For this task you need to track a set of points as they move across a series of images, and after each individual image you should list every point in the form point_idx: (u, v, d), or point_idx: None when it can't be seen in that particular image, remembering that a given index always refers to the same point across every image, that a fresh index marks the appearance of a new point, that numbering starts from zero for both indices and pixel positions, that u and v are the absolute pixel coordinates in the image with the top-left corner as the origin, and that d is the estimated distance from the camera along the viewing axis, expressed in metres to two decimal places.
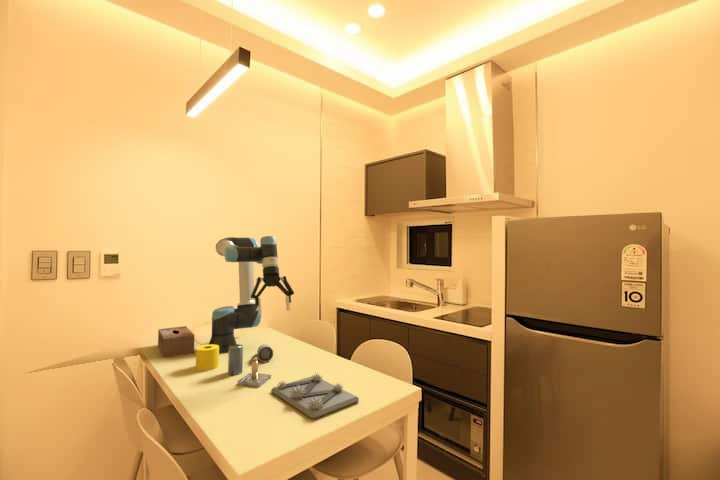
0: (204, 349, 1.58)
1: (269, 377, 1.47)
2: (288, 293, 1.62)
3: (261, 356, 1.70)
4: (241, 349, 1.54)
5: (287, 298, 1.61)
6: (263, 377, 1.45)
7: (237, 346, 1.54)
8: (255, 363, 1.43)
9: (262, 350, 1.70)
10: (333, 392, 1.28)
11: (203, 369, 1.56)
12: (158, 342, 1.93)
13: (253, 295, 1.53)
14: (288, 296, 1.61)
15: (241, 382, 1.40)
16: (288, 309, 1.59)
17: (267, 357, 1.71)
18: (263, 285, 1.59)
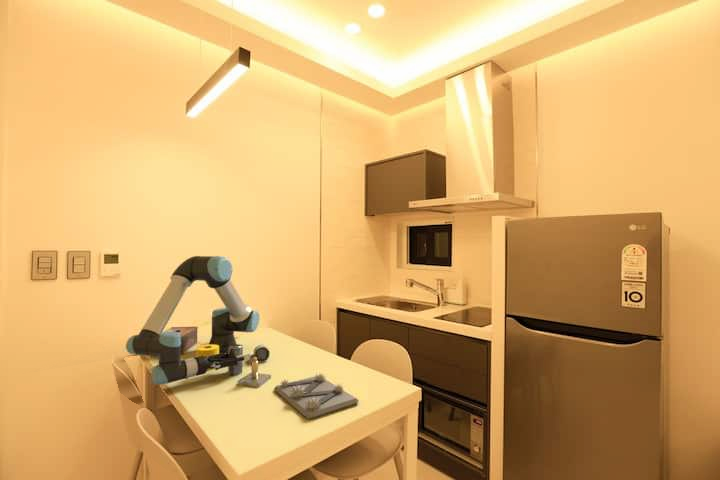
0: (204, 349, 1.58)
1: (269, 377, 1.47)
2: None
3: (257, 356, 1.70)
4: (241, 349, 1.54)
5: None
6: (263, 377, 1.45)
7: (237, 346, 1.54)
8: (255, 363, 1.43)
9: (258, 350, 1.70)
10: (333, 393, 1.27)
11: None
12: None
13: None
14: None
15: (241, 382, 1.40)
16: None
17: (263, 357, 1.70)
18: None
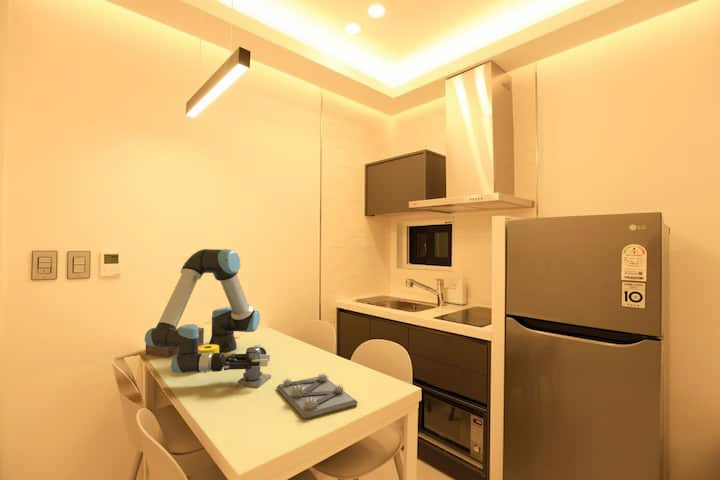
0: (204, 349, 1.58)
1: (269, 377, 1.47)
2: None
3: None
4: (252, 354, 1.42)
5: None
6: (263, 377, 1.45)
7: (252, 349, 1.43)
8: None
9: None
10: (333, 393, 1.27)
11: None
12: None
13: None
14: (252, 366, 1.41)
15: (241, 382, 1.40)
16: (267, 365, 1.42)
17: None
18: None
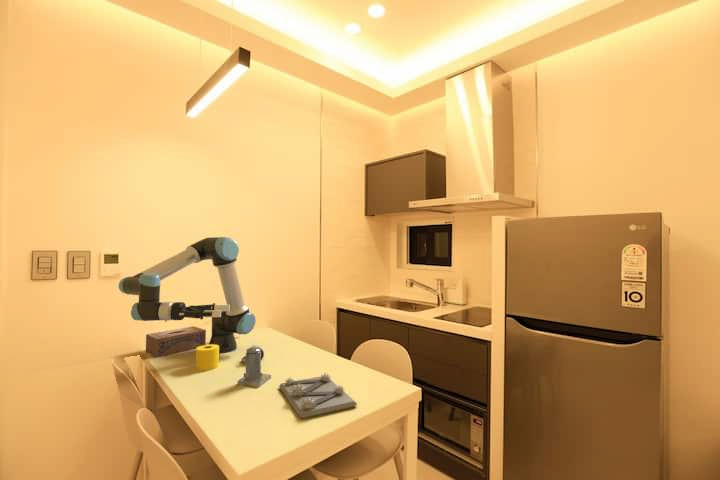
0: (204, 349, 1.58)
1: (269, 377, 1.47)
2: None
3: None
4: (252, 354, 1.42)
5: (207, 316, 1.38)
6: (263, 377, 1.45)
7: (252, 350, 1.44)
8: None
9: None
10: (333, 394, 1.26)
11: (203, 369, 1.56)
12: None
13: None
14: None
15: (241, 382, 1.40)
16: (220, 316, 1.39)
17: None
18: None
